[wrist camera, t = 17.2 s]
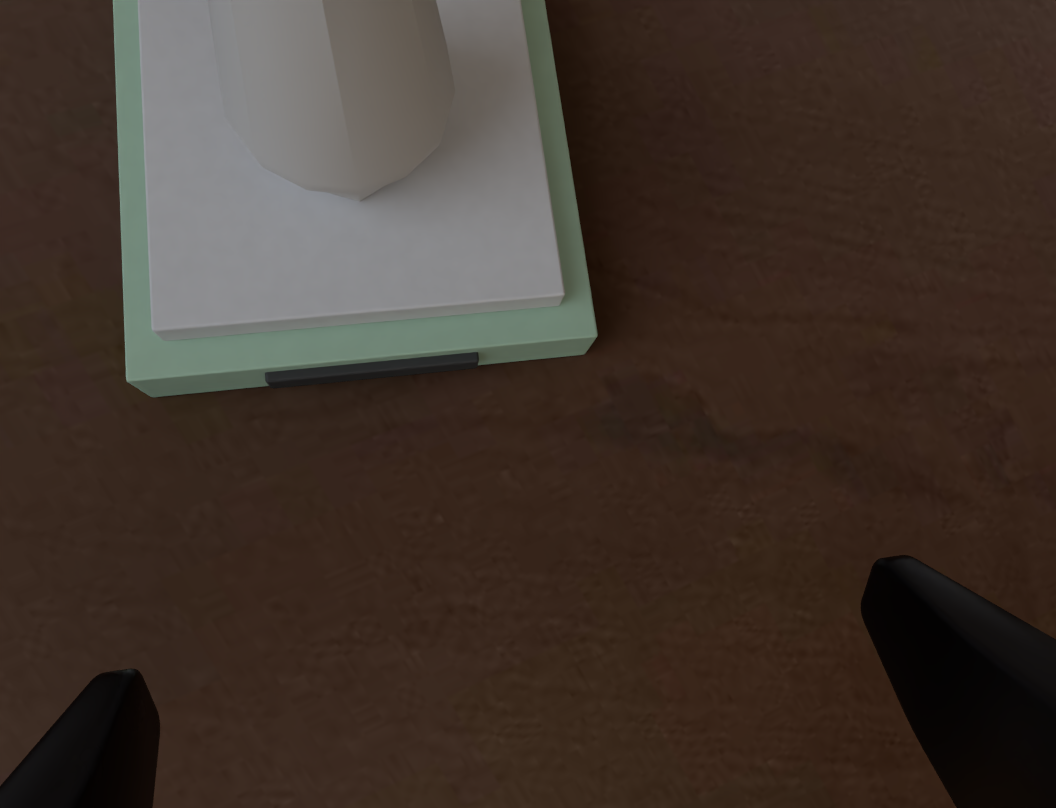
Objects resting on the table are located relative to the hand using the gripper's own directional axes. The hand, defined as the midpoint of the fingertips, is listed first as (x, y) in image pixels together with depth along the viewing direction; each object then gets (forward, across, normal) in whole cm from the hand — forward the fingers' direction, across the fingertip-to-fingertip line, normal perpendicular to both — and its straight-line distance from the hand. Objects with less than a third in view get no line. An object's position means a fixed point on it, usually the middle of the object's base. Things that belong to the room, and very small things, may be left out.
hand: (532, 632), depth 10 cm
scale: (+19, +2, 0) cm, 19 cm away
